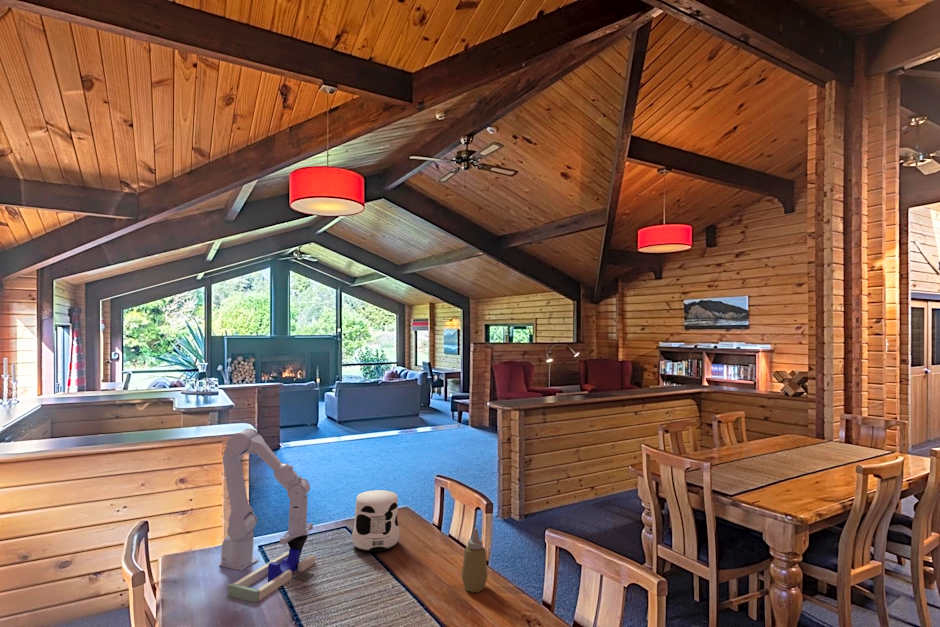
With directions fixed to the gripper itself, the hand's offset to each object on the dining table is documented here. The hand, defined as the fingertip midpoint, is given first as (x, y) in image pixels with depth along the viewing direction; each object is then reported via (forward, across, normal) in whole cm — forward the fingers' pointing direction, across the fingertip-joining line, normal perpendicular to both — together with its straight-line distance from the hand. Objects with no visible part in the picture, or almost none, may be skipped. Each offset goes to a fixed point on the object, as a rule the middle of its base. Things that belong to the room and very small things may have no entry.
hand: (295, 558), depth 165 cm
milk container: (+2, +23, -17) cm, 29 cm away
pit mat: (+2, -6, -8) cm, 10 cm away
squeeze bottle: (+2, +7, -61) cm, 61 cm away
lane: (+2, -10, 0) cm, 10 cm away
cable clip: (+2, -8, -1) cm, 8 cm away
